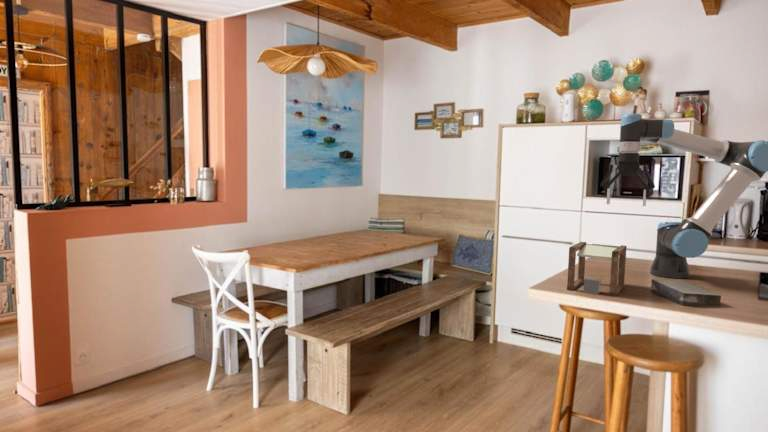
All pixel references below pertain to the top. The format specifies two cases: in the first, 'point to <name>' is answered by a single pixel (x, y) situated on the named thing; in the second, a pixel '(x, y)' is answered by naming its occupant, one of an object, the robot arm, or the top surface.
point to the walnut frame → (617, 256)
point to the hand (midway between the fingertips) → (625, 205)
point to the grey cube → (592, 285)
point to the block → (684, 293)
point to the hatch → (597, 251)
